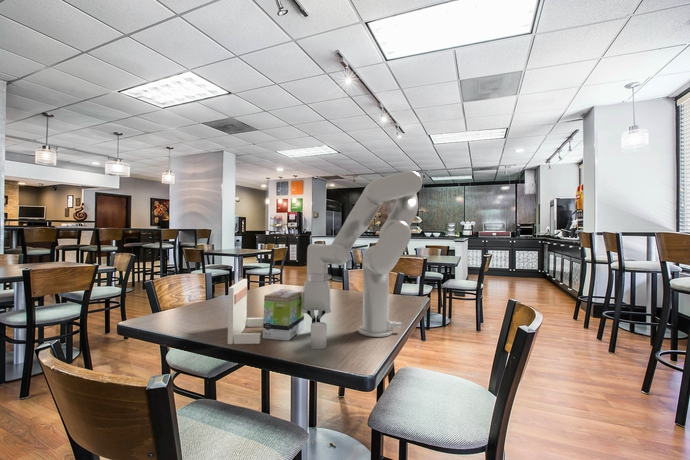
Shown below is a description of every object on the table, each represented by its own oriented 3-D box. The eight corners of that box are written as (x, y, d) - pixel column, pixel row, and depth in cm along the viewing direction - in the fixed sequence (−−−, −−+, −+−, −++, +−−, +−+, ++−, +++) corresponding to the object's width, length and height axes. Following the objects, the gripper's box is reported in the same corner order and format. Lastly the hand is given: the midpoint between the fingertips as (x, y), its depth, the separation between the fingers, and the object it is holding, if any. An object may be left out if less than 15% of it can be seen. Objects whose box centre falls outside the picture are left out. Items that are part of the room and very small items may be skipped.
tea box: (290, 341, 108) (290, 296, 108) (261, 339, 110) (262, 295, 110) (304, 328, 122) (305, 289, 123) (279, 326, 124) (280, 288, 125)
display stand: (268, 325, 126) (269, 278, 126) (259, 343, 105) (260, 287, 105) (242, 325, 125) (243, 278, 125) (227, 344, 104) (228, 287, 104)
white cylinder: (326, 343, 106) (326, 322, 106) (326, 348, 101) (326, 326, 101) (310, 343, 105) (311, 322, 106) (310, 349, 100) (310, 326, 101)
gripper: (336, 276, 122) (335, 326, 121) (296, 276, 120) (295, 326, 120) (338, 279, 114) (337, 332, 114) (295, 279, 113) (294, 332, 113)
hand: (315, 328), depth 117 cm, fingers closed
